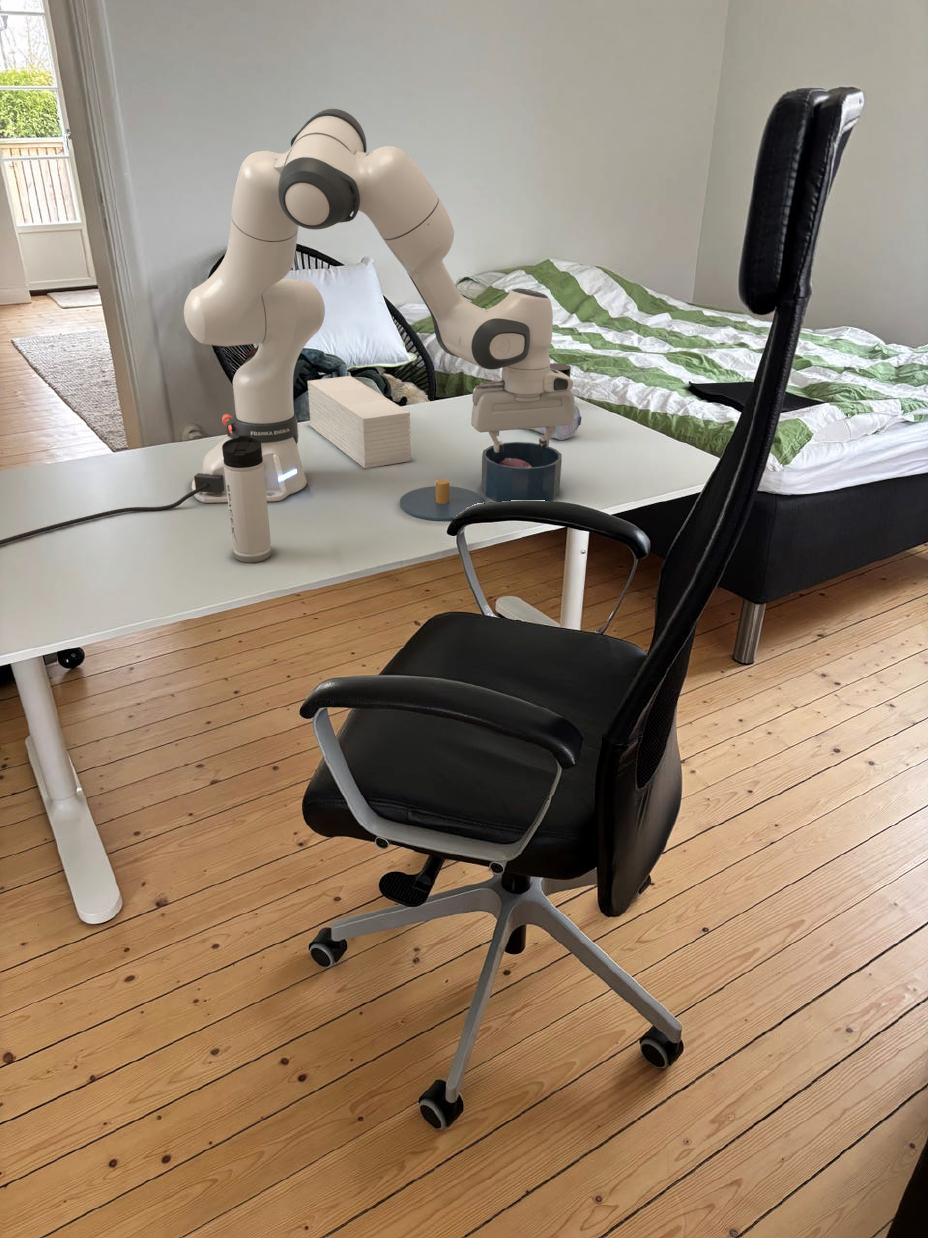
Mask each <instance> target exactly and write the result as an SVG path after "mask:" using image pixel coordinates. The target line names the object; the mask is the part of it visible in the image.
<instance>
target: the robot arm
mask: <svg viewBox="0 0 928 1238" xmlns="http://www.w3.org/2000/svg"><path fill="white" fill-rule="evenodd" d="M364 131H365V130H364V129H363V127H362V125H361V124H360V123H359V121H358V120H357V119H356V118H355V117H354V116H353V115H352V114H350V113H349V112H347V111H345V110H342V109H339V108H328V109H324V110H321V111H319V112H317V113H316V114H314V115H313V116H312V117H311V118H310V119H308V120H307V121H306V122H305V123H304V125H303V126H302V127H301V128H300V129H299V130H298V132H297V133H296V134H295V135H294V136H293V137H292V138H291V140H290V148H289V149H288V150H287V151H286V152H282V153H281V152H280V153H279V152H276V151H271V150H258V151H255V152H252V153H250V154H249V155H248V156H246V158H244V160H243V161H242V163H241V164H240V167H239V171H238V175H237V178H236V182H235V186H234V190H233V196H232V202H231V212H230V213H231V214H230V228H229V236H228V242H227V248H226V252H225V254H224V258H223V259H222V261H221V263H220V264H219V265H218V267H217V268H216V270H214V272H213V273H212V274H211V275H210V277H208V278H207V279H206V280H205V281H204V282H202V283H201V284H199V285H197V286H196V287H194V288H192V289H191V291H189V293H188V294H187V297H186V298H185V302H184V305H183V306H184V307H183V319H184V323H185V326H186V328H187V330H188V332H189V333H190V335H192V337H193V339H195V340H196V341H197V342H198V343H200V344H202V345H206V346H207V345H208V346H215V347H237V346H247V345H257V344H258V348H257V351H256V353H255V354H254V356H253V357H252V358H250V359H249V360H248V361H246V362H245V363H244V364H242V365H241V366H239V368H238V369H237V370H236V372H235V374H234V375H233V379H232V389H233V390H232V391H233V400H234V401H233V402H234V411H235V414H234V415H233V416H232V415H231V414H230V413H225V414H223V416H222V417H221V418H222V419H221V420H222V424H223V425H224V426H225V430H226V436H225V437H224V438H223V439H221V441H219V442H218V443H216V445H215V446H214V447H212V448H211V449H210V450H208V451H207V452H206V453H205V455H204V457H203V461H202V464H201V465H202V466H201V473H200V472H198V473H196V474H195V475H194V476H193V480H192V482H191V491H190V492H188V493H187V494H185V495H184V496H182V497H181V498H180V499H178V500H177V501H176V502H173V503H170V504H167V505H161V506H132V507H131V506H130V507H123V508H117V509H112V510H107V511H103V512H98V513H95V514H91V515H87V516H82V517H77V518H74V519H71V520H67V521H63V522H59V523H55V524H51V525H48V526H44V527H40V528H36V529H33V530H30V531H26V532H22V533H19V534H16V535H12V536H9V537H5V538H2V539H0V546H1V545H4V544H8V543H11V542H14V541H18V540H21V539H24V538H27V537H31V536H34V535H38V534H41V533H42V534H43V533H45V532H48V531H52V530H56V529H59V528H63V527H67V526H71V525H75V524H79V523H83V522H89V521H91V520H95V519H99V518H103V517H108V516H113V515H118V514H123V513H129V512H130V513H131V512H161V511H167V510H170V509H174V508H176V507H178V506H180V505H181V504H183V503H185V502H186V500H189V498H191V497H194V498H195V499H196V500H197V501H199V502H201V503H205V504H211V503H212V504H214V503H217V504H219V503H228V498H227V489H226V481H225V472H224V460H223V459H224V458H223V451H222V445H223V444H224V443H225V442H226V441H228V440H230V439H233V438H239V435H250V438H254V439H257V440H259V441H260V442H261V447H262V458H263V465H264V475H265V486H266V497H267V502H280V501H282V500H284V499H286V498H287V497H289V496H290V495H292V494H296V493H297V492H299V491H301V490H303V489H304V488H305V487H306V486H307V484H308V480H307V477H306V474H305V471H304V469H303V465H302V461H301V456H300V452H299V446H298V443H299V424H298V418H297V414H296V412H295V410H294V409H295V407H294V374H295V369H296V366H297V361H298V359H299V357H300V355H301V353H302V351H303V349H304V348H305V346H306V345H307V343H308V342H309V341H310V340H311V339H312V338H313V337H314V335H316V334H317V333H318V332H319V330H321V328H322V326H323V323H324V321H325V314H326V307H325V303H324V299H323V296H322V294H321V293H320V291H319V289H318V287H316V285H314V284H313V283H312V281H307V280H302V279H296V278H286V276H287V275H288V274H289V273H290V271H291V270H292V268H293V266H294V263H295V257H296V251H297V250H296V249H297V244H298V243H297V241H298V236H299V227H301V228H303V229H306V230H307V229H308V230H313V231H314V230H318V231H319V230H324V229H327V228H330V227H333V226H335V225H337V224H341V223H348V222H349V223H350V222H351V221H353V220H354V219H356V217H357V215H358V213H359V212H361V213H363V214H365V215H366V216H367V218H368V219H369V220H370V221H371V223H372V224H373V226H374V228H375V229H376V230H377V232H378V234H379V235H380V237H381V238H382V240H383V242H384V243H385V244H386V246H387V247H388V248H389V250H390V251H391V253H392V254H393V255H394V257H395V258H396V259H397V261H398V262H399V263H400V264H401V266H402V267H403V269H404V270H405V271H406V273H407V275H408V277H409V279H410V280H411V282H412V284H413V285H414V287H415V289H416V290H417V292H418V295H419V296H420V298H421V299H422V301H423V303H424V304H425V307H426V308H427V309H428V312H429V314H430V316H431V317H430V318H431V319H432V324H433V330H434V334H435V335H434V336H435V338H436V341H437V343H438V345H439V347H440V348H441V350H443V351H444V352H445V353H446V354H447V355H449V356H453V357H456V358H459V359H462V360H464V361H466V362H468V363H470V364H473V365H475V366H477V367H479V368H481V369H484V370H493V371H494V370H498V369H502V371H501V372H502V373H501V380H494V381H482V382H480V383H479V384H477V385H476V386H475V387H474V388H473V390H472V410H471V417H470V419H471V420H470V423H471V426H472V427H473V428H474V429H475V430H476V431H477V432H478V433H488V434H489V437H490V438H491V440H492V442H493V445H494V451H495V452H496V453H498V452H503V451H504V449H503V448H504V444H503V443H504V442H503V441H502V440H499V439H498V437H499V436H500V432H503V431H516V430H527V429H529V428H541V427H545V429H547V430H546V432H545V434H543V436H541V437H538V444H539V447H540V448H541V449H544V448H549V447H550V441H551V439H552V436H553V434H554V433H555V430H556V426H566V425H570V424H571V423H572V422H573V420H574V414H575V402H576V400H575V395H574V393H573V391H572V390H573V387H574V380H573V379H572V378H571V376H570V377H568V376H567V375H565V374H564V373H562V372H560V371H558V370H554V369H551V368H550V364H551V360H550V347H551V345H552V342H553V328H554V327H553V326H554V320H553V319H554V316H553V315H554V314H553V313H554V312H553V305H552V301H551V299H550V298H549V296H547V294H545V293H543V292H539V291H537V290H536V291H535V290H532V289H528V288H521V287H520V288H519V287H518V288H513V289H511V290H510V291H509V293H508V294H507V296H506V297H504V298H503V299H502V300H501V301H500V302H498V303H496V305H493V306H492V307H490V308H487V309H485V308H483V307H481V306H478V305H476V304H474V303H473V302H471V301H469V300H467V299H466V298H464V296H463V295H462V294H461V292H459V289H458V288H457V286H456V284H455V282H454V280H453V278H452V277H451V275H450V273H449V271H448V269H447V268H446V266H445V264H444V261H443V260H444V259H445V258H446V257H447V255H448V254H449V252H450V250H451V248H452V245H453V243H454V237H455V230H454V227H453V223H452V221H451V218H450V216H449V213H448V211H447V210H446V208H445V206H444V204H443V202H442V200H441V198H440V196H438V194H437V193H436V190H435V189H434V187H433V186H432V185H431V183H430V181H429V180H428V178H426V176H425V174H424V173H423V172H422V170H421V169H420V168H419V167H418V166H417V164H416V163H415V162H414V161H413V160H412V158H411V157H410V156H409V155H408V154H407V153H406V152H405V150H403V149H401V148H399V147H398V146H394V145H384V146H381V147H377V148H375V149H373V150H371V151H370V152H369V151H367V150H368V148H367V145H368V144H367V138H366V134H365V132H364ZM529 430H530V429H529Z"/></svg>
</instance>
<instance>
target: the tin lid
mask: <svg viewBox="0 0 928 1238" xmlns="http://www.w3.org/2000/svg"><path fill="white" fill-rule="evenodd" d="M483 502H485V503H486V501H485V499H484V497H483V496H482V495H480V494H479V493H477V492H475V491H473V490H471V489H467V488H464V487H459V486H452V485H451V486H450V480H448V479H445V478H440V479H437V480H435V485H434V486H433V485H432V486H425V487H420V488H416V489H413V490H410V491H408V492H406V493H404V494H403V495H402V496H401V498H400V500H399V507H400V509H401V510H402V511H403V512H404V513H406V514H407V515H409V516H411V517H414V518H417V519H421V520H426V521H432V522H433V521H434V522H454V521H455V520H454V518H455V517H456V515H458V514H459V513H460V512H462V511H463V510H465V509H466V508H467V507H470V506H472V505H474V504H477V503H483ZM453 520H454V521H453Z"/></svg>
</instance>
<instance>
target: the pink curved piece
mask: <svg viewBox="0 0 928 1238" xmlns="http://www.w3.org/2000/svg"><path fill="white" fill-rule="evenodd" d="M499 464H501V465H506V466H511V467H524V468H531V467H532V466H531V465H530V464H529V463H527V462H525V461H523V460H520V459H512V458H505V459H504V460H503V461H501V462H500V463H499Z"/></svg>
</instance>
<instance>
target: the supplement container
mask: <svg viewBox="0 0 928 1238" xmlns="http://www.w3.org/2000/svg"><path fill="white" fill-rule="evenodd" d="M550 368H551V369H554V370H558V371H560V372H562V373H564V374H565V375H567V376H568V377H570V378H571V373H572V372H571V371H572V367H571V365H569V364H565V363H560V362H558V363H557V362H554V363H551V362H550Z"/></svg>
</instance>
